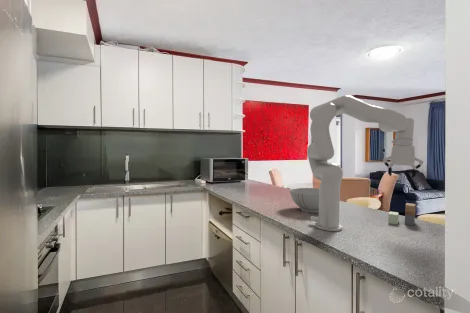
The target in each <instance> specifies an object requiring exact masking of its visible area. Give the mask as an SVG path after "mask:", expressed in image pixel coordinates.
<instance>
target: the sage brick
mask: <svg viewBox="0 0 470 313" xmlns="http://www.w3.org/2000/svg"><path fill="white" fill-rule="evenodd" d="M399 214H400V213H399V212H397V211H391V210H390V211H389V212H388V216H387V218H388V219H387V220H388V221H387V222H388V224H391V225H398V223H399V216H400V215H399Z"/></svg>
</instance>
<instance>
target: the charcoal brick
mask: <svg viewBox="0 0 470 313" xmlns="http://www.w3.org/2000/svg"><path fill="white" fill-rule="evenodd" d="M415 222H416V215H415V216H412V215H405V214H404V225H406V224H408V225H407V226H413V225H414V226H415Z"/></svg>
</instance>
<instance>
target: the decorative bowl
mask: <svg viewBox="0 0 470 313" xmlns="http://www.w3.org/2000/svg"><path fill="white" fill-rule="evenodd" d="M289 194H290V197H291V200H292V201H293V203H295V205H296V206H297V207H299V208H300V210H301V211H303V212H306V213H314V214H315V213H319V188H317V187H295V188H290V189H289Z"/></svg>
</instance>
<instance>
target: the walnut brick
mask: <svg viewBox="0 0 470 313" xmlns="http://www.w3.org/2000/svg"><path fill="white" fill-rule="evenodd" d="M404 208H405V210H404V211H405V214H404V216H405V215H412V216H415V217H416V203H409V202H406V203H405V207H404Z"/></svg>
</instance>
